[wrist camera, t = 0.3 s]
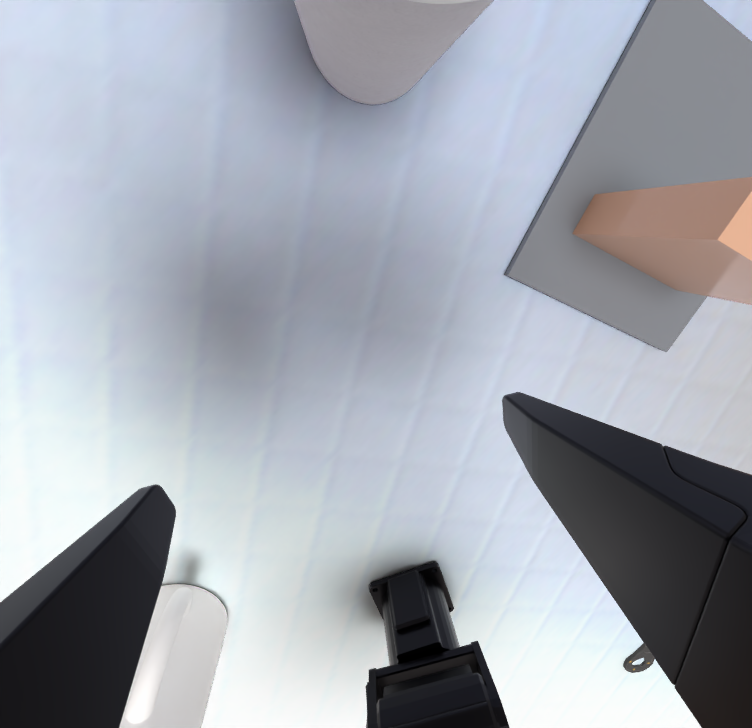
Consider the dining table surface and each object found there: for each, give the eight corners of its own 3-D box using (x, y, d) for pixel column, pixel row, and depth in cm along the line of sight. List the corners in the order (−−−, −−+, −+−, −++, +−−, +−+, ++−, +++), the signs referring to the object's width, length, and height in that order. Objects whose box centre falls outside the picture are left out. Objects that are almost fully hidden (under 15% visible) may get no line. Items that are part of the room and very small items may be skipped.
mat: (660, 349, 26) (666, 352, 26) (504, 274, 23) (507, 275, 23) (828, 117, 22) (839, 115, 21) (662, -21, 18) (670, -27, 18)
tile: (675, 290, 24) (855, 325, 16) (572, 233, 22) (717, 239, 14) (700, 254, 23) (903, 270, 15) (596, 191, 21) (765, 171, 13)
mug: (145, 537, 27) (46, 705, 18) (253, 558, 29) (214, 719, 20) (119, 638, 31) (25, 822, 22) (217, 651, 33) (169, 825, 23)
